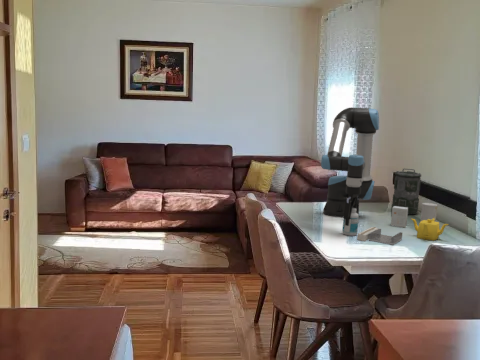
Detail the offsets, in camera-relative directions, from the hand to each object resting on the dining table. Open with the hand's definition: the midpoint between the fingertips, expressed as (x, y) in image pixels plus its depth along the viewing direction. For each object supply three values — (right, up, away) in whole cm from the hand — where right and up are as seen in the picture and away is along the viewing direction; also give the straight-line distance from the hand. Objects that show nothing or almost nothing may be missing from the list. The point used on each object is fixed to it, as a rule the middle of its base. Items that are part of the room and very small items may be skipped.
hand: (349, 230), depth 274 cm
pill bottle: (0, -2, 0) cm, 2 cm away
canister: (+49, +5, +69) cm, 84 cm away
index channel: (+16, -4, -8) cm, 18 cm away
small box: (+33, 0, +28) cm, 43 cm away
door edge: (+9, -3, -3) cm, 9 cm away
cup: (+52, 0, +35) cm, 62 cm away
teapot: (+41, -4, +3) cm, 41 cm away
